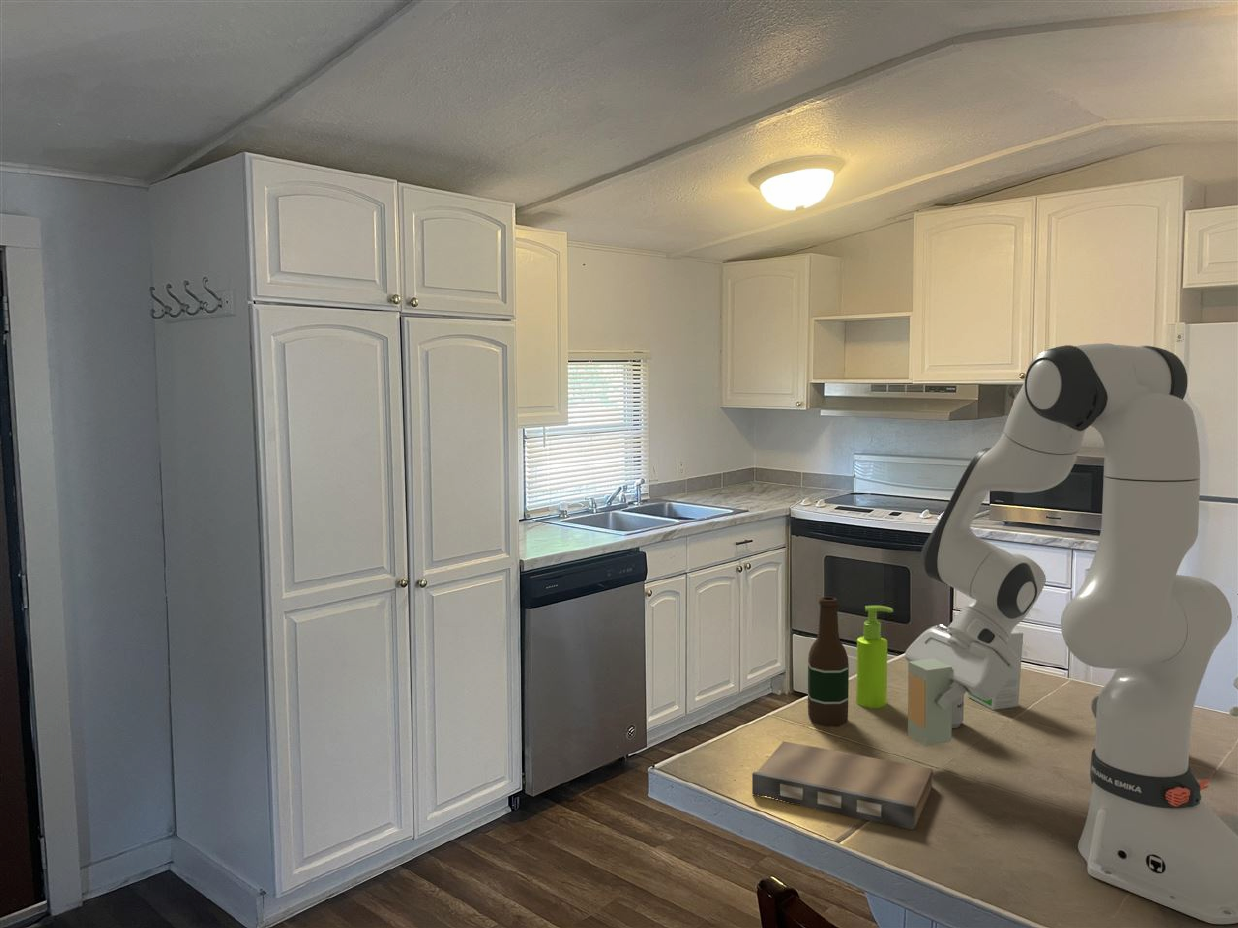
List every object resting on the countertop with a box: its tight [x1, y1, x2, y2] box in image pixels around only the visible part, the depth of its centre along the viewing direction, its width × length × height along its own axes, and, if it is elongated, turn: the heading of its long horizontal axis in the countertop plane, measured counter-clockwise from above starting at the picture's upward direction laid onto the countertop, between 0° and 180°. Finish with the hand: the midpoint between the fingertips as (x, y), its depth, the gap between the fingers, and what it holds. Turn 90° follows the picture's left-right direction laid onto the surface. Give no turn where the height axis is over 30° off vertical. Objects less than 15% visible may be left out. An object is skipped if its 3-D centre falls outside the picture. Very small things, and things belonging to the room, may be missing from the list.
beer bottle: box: [807, 596, 850, 727], centre depth 175 cm, size 8×8×24 cm
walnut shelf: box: [751, 741, 933, 831], centre depth 146 cm, size 25×16×4 cm, turn 62°
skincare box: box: [966, 628, 1024, 711], centre depth 184 cm, size 8×7×16 cm
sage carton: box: [907, 658, 952, 747], centre depth 155 cm, size 5×5×13 cm
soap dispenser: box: [855, 605, 894, 709], centre depth 184 cm, size 6×7×20 cm
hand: (926, 699), depth 155 cm, fingers closed on sage carton, 5 cm apart
